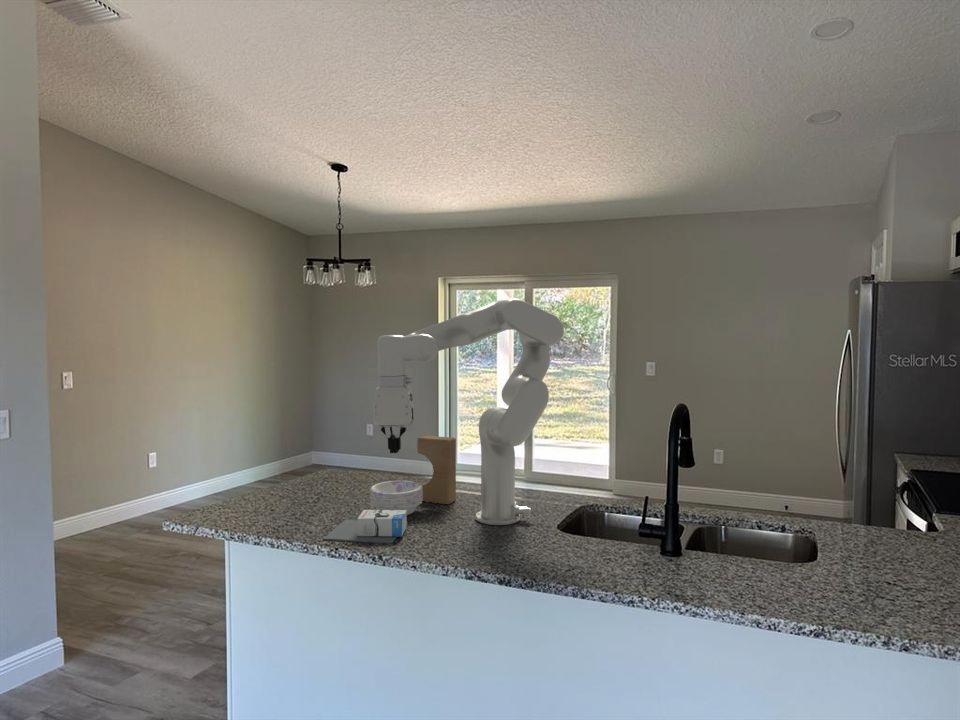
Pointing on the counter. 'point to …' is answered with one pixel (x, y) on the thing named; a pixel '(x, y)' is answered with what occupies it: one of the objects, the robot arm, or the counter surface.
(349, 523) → the mat
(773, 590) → the counter surface
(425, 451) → the decorative block
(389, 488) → the paper bowls
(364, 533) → the ink box
